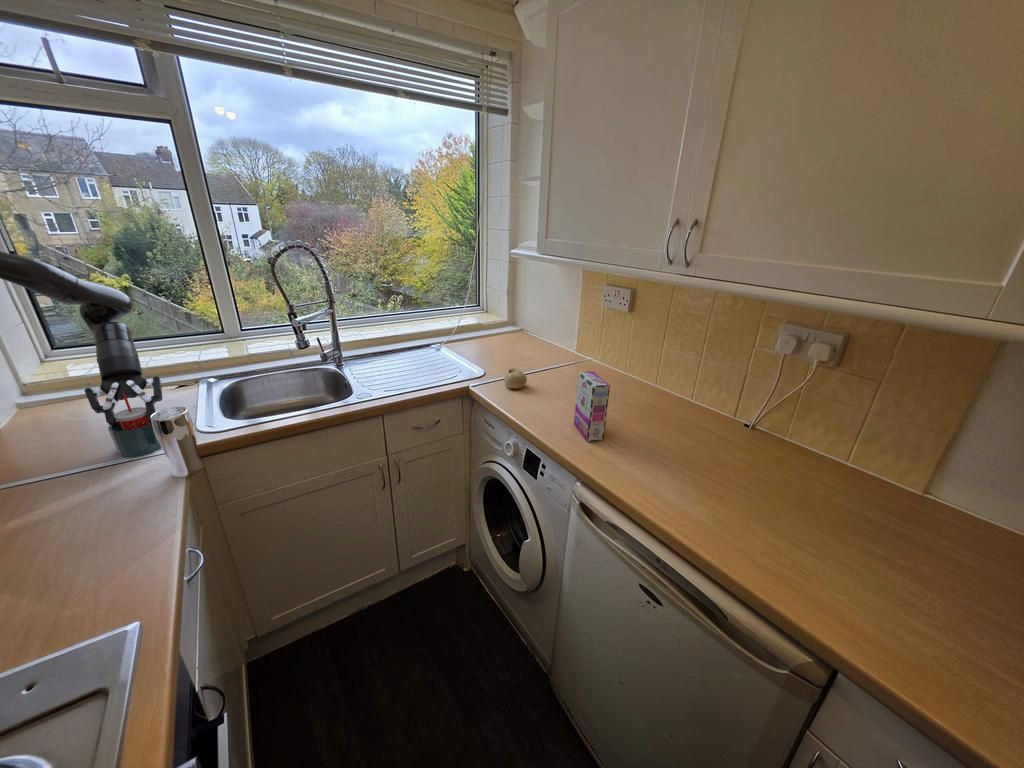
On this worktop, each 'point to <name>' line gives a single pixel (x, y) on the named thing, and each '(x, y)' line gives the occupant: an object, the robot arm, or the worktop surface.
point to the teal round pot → (134, 440)
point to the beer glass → (177, 440)
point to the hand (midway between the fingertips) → (132, 421)
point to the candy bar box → (591, 406)
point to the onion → (515, 379)
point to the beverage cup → (132, 417)
